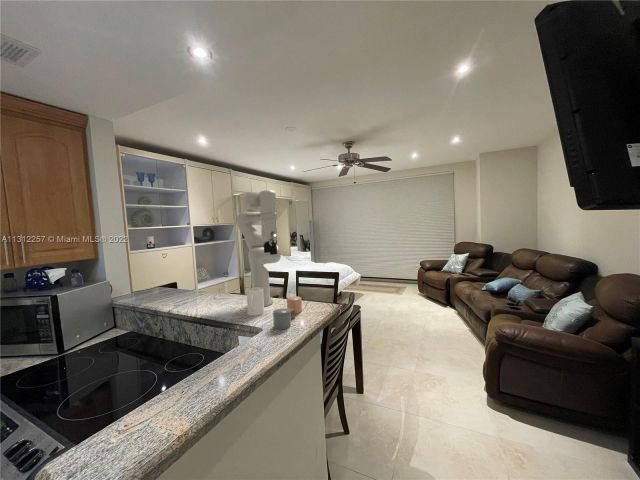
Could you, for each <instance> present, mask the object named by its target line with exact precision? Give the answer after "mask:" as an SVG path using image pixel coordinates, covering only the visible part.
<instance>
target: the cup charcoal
mask: <svg viewBox="0 0 640 480" xmlns="http://www.w3.org/2000/svg"><path fill="white" fill-rule="evenodd" d="M272 318H273V319H272V320H273V328H274V329H276V330H286V329H289V328H290V327H291V326H292V319H291V314H290V310H289V309H287V307H286V308H284V307H283V308H278V309H277V308H276V309H274V311H273V313H272Z"/></svg>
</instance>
